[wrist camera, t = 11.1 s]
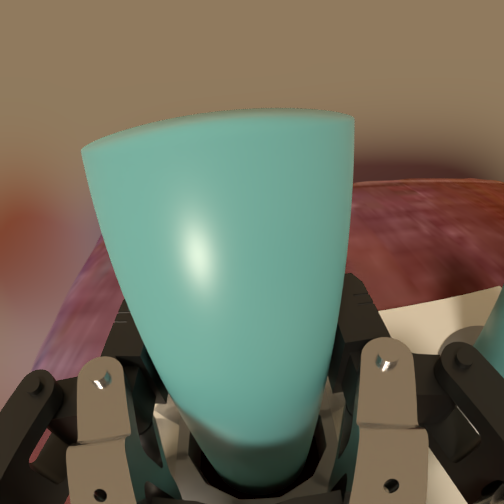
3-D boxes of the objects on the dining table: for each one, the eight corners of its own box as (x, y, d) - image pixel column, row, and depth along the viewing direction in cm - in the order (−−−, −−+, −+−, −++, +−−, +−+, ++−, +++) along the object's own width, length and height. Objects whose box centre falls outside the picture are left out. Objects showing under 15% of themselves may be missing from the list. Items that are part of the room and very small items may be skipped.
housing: (154, 357, 18) (141, 329, 17) (488, 310, 18) (500, 284, 17) (123, 564, 6) (95, 561, 5) (566, 439, 6) (590, 417, 5)
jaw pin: (271, 403, 14) (253, 106, 7) (325, 460, 11) (407, 122, 4) (197, 442, 12) (79, 141, 5) (245, 510, 9) (86, 177, 2)
